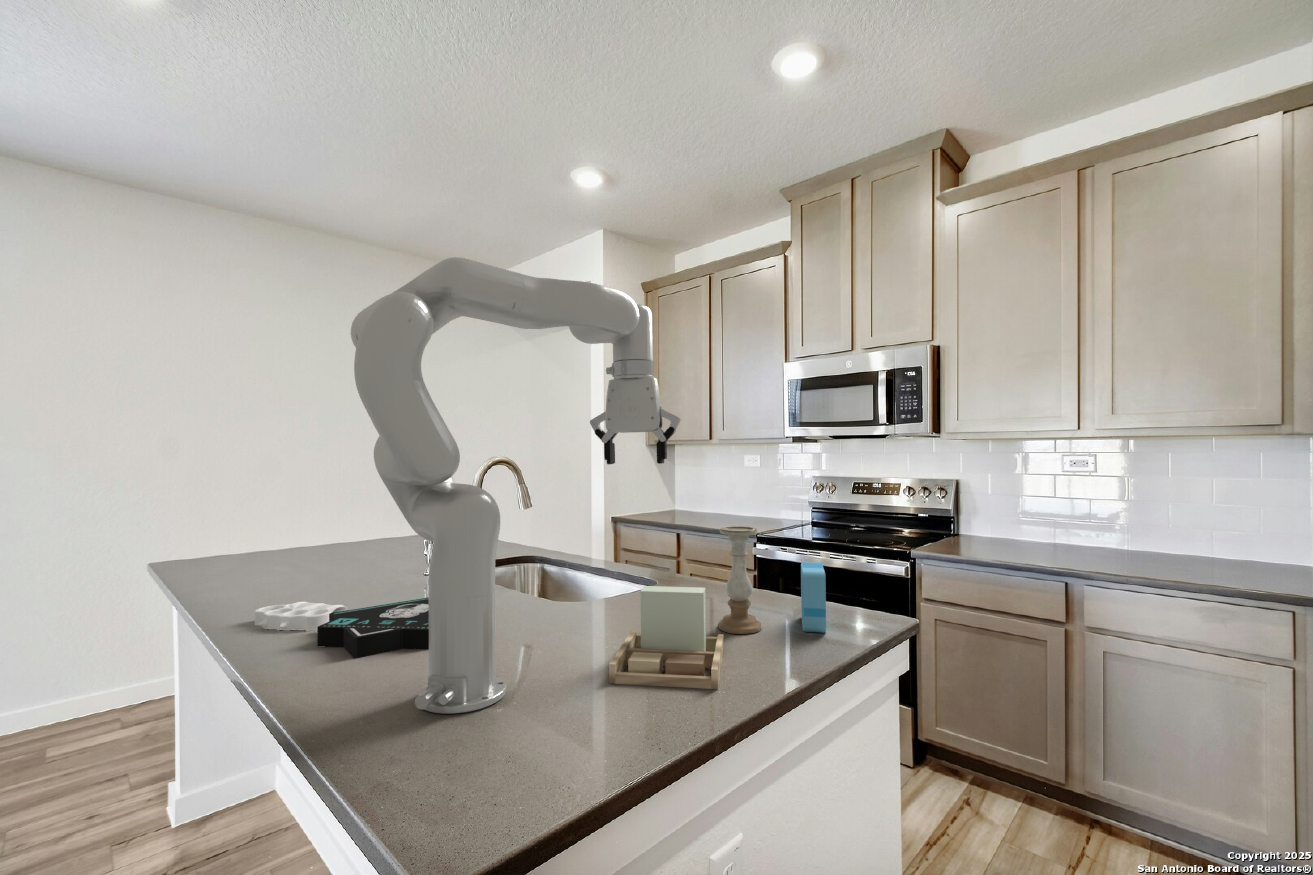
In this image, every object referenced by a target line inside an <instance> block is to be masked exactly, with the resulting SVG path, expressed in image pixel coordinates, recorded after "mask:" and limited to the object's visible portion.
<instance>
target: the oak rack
mask: <svg viewBox="0 0 1313 875" xmlns="http://www.w3.org/2000/svg"><path fill="white" fill-rule="evenodd" d="M724 636H725V635H724V634H722V633H721V634H720V633H719V634H717V636H706V651H687V650H665V649H642V648H641V633H638V631H637V630H631V631H630V632H629V634H628V635H627V637H626V638H625V640H624V641H623V643H622V645H620V648H619V649H618V651H616V654H615V655H614V656H613V658H612V659H611V661H610V662H609V664H608V668H609V669H608V671H609V672H608V682H609V683H608V684H611V683H614V685H633V686H646V687H647V686H649V687H669V688H683V689H684V688H687V689H705V690H706V689H708V690H719V685H720V678H721V672H722V665H723V658H724V653H725V651H724V650H725V646H724V645H725V642H724V641H725V640H724V638H725V637H724ZM633 652H643V653H663V667H665V662H666V660H667V657H668V654H682V655H705V669H709V670H711V671H710V672H711V675H709V676H705V675H704V676H689V675H670V674H666V673H662V674H650V673H631V672H628V671H624V670H625V668H626V666H627V665H626V664H628V660H629V658H630V657H631V655H632V654H633Z"/></svg>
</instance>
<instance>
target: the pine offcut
mask: <svg viewBox="0 0 1313 875" xmlns="http://www.w3.org/2000/svg"><path fill="white" fill-rule="evenodd" d="M627 667H628V668H627V669H628V671H627V672H631V673H650V674H663V672H664V666H663V653H643V652H633V654H632V655H631V657H630V658H629V660H628V665H627Z"/></svg>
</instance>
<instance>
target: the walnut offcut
mask: <svg viewBox="0 0 1313 875" xmlns="http://www.w3.org/2000/svg"><path fill="white" fill-rule="evenodd" d="M664 668H665V670H664V671H665V674H670V675H689V676H705V673H706V668H705V655H682V654H668V657H667V660H666V662H665V666H664Z"/></svg>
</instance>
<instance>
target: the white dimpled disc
mask: <svg viewBox="0 0 1313 875" xmlns="http://www.w3.org/2000/svg"><path fill="white" fill-rule="evenodd" d="M347 610H348V607H347V606H345V605H343V604H326V603H323V602H320V603H319V602H318V603H316V602H308V601H297V602H292V603H287V604H275V605H274V604H273V605H269V606H268V605H267V606H262V607H258V608H257V609H255V611H254V626H255V625H260V627H262V628H263V630H267V629H279V630H292V629H304V630H314V629H317V627H318V626H320V625H322V624H325V623H327V622H329V614H330V613H334V612H341V611H347ZM279 630H278V631H279Z"/></svg>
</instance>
